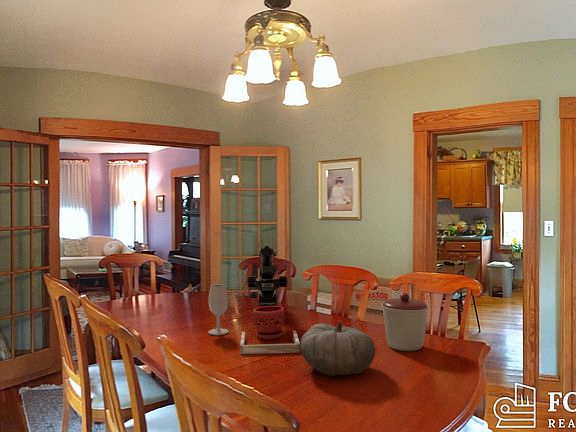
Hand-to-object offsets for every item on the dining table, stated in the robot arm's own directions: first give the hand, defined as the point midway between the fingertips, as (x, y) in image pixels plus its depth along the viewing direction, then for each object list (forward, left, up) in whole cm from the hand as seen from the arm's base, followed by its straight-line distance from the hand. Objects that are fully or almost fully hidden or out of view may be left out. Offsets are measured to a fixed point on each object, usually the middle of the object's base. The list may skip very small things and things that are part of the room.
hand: (267, 296), depth 204 cm
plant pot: (+13, +11, -14) cm, 22 cm away
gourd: (+30, +53, -14) cm, 63 cm away
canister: (-6, +63, -14) cm, 65 cm away
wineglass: (+21, -11, -14) cm, 28 cm away
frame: (+22, +18, -14) cm, 32 cm away
